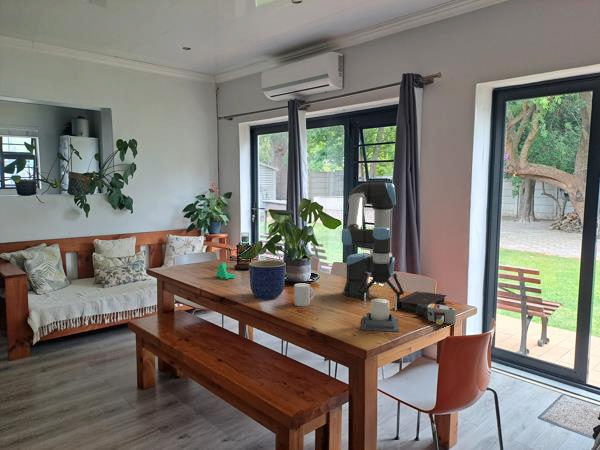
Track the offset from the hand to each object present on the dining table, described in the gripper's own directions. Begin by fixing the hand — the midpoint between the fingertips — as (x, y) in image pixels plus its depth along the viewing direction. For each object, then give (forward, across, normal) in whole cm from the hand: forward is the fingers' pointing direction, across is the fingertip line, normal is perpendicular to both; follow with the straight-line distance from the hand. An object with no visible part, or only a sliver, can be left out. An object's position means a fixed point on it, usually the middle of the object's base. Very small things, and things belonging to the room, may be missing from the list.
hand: (380, 308), depth 196 cm
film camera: (+8, +24, +9) cm, 26 cm away
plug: (+6, 0, 0) cm, 6 cm away
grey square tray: (+7, 0, 0) cm, 7 cm away
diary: (+8, +21, +34) cm, 41 cm away
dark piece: (+9, -99, +114) cm, 151 cm away
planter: (+8, -62, +39) cm, 74 cm away
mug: (+8, -39, +29) cm, 49 cm away
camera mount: (+8, -102, +82) cm, 131 cm away
